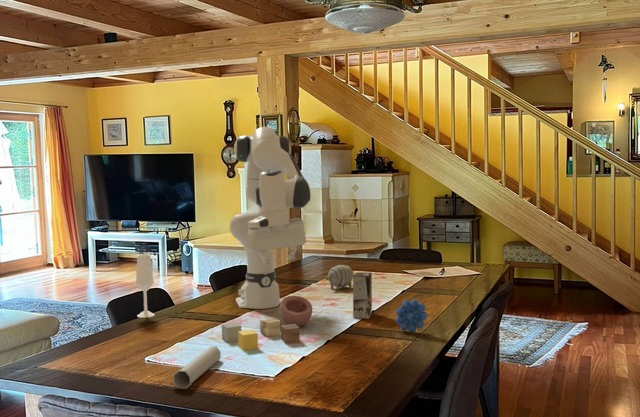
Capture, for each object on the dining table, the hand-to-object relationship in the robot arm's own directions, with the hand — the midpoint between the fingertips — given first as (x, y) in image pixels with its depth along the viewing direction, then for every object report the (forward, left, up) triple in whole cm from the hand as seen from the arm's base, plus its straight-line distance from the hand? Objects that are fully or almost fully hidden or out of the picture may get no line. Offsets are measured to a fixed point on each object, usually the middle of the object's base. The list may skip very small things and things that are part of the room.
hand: (278, 262), depth 206 cm
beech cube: (-13, +2, -28) cm, 31 cm away
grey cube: (-13, -12, -28) cm, 33 cm away
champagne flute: (-60, -32, -28) cm, 74 cm away
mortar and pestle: (-18, +14, -28) cm, 36 cm away
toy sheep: (-68, +58, -28) cm, 93 cm away
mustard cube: (-2, -10, -28) cm, 29 cm away
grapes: (+8, +47, -28) cm, 55 cm away
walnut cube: (-2, +5, -28) cm, 28 cm away
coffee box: (-20, +43, -28) cm, 55 cm away
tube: (+14, -31, -28) cm, 44 cm away
